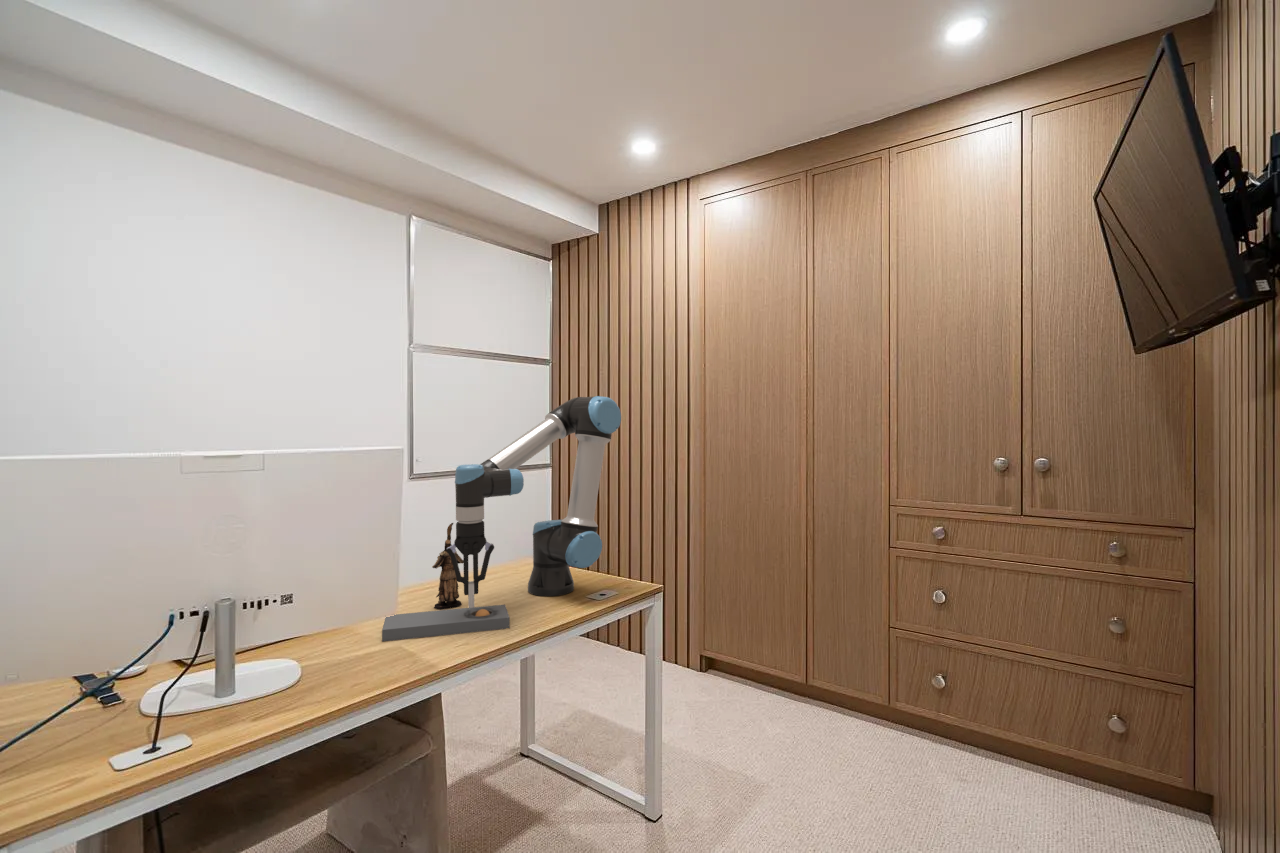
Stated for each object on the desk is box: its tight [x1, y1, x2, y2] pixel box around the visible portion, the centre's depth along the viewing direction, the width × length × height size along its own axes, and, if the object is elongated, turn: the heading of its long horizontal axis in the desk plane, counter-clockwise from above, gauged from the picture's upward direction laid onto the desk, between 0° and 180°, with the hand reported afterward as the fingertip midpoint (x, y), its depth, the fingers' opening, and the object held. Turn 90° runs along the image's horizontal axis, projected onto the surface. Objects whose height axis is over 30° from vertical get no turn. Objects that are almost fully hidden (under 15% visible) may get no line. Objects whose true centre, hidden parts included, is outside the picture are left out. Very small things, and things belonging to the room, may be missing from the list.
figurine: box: [431, 522, 464, 611], centre depth 185 cm, size 6×10×25 cm
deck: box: [381, 604, 511, 643], centre depth 167 cm, size 32×12×3 cm, turn 108°
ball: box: [475, 609, 490, 616], centre depth 170 cm, size 4×4×4 cm
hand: (471, 605), depth 169 cm, fingers closed
